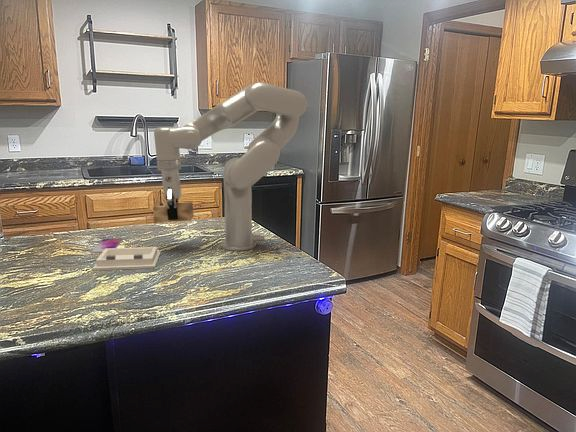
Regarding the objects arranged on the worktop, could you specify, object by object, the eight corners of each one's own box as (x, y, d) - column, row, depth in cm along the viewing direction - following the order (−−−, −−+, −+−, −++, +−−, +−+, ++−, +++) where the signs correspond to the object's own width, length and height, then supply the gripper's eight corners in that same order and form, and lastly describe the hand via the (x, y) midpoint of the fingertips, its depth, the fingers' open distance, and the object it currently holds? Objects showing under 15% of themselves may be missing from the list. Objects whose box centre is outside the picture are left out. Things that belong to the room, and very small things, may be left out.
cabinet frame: (160, 253, 145) (160, 242, 144) (154, 268, 131) (154, 256, 130) (104, 255, 142) (103, 244, 141) (92, 270, 129) (91, 258, 128)
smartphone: (89, 252, 144) (102, 239, 158) (89, 254, 144) (102, 241, 158) (111, 251, 144) (122, 238, 159) (112, 254, 145) (123, 240, 159)
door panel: (193, 216, 150) (192, 200, 148) (190, 220, 144) (188, 204, 143) (159, 217, 150) (157, 201, 148) (154, 221, 144) (152, 205, 142)
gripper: (178, 167, 134) (183, 222, 139) (182, 161, 151) (187, 210, 155) (153, 169, 133) (159, 224, 138) (160, 162, 150) (165, 211, 154)
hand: (174, 216), depth 147 cm, fingers closed on door panel, 6 cm apart
